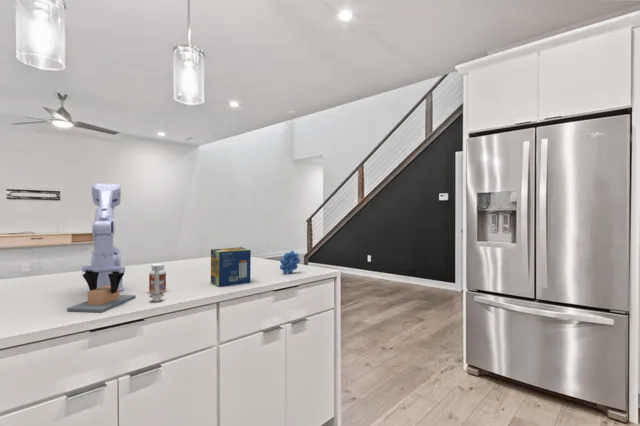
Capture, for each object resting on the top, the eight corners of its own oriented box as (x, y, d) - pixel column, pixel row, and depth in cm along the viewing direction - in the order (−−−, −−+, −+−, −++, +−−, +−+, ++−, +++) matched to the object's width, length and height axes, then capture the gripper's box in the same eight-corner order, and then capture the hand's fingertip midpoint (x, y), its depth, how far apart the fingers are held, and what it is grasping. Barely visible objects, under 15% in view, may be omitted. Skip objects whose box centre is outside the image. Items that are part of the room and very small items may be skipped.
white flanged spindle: (166, 299, 126) (158, 303, 122) (155, 298, 127) (146, 302, 122) (166, 264, 126) (158, 267, 121) (155, 264, 127) (146, 266, 122)
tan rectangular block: (87, 304, 115) (87, 291, 115) (106, 297, 124) (106, 285, 124) (101, 305, 115) (101, 292, 115) (119, 298, 124) (119, 286, 124)
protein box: (210, 282, 155) (210, 249, 154) (241, 278, 164) (241, 247, 164) (218, 287, 146) (218, 251, 146) (251, 282, 156) (251, 249, 155)
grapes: (295, 271, 185) (295, 249, 184) (301, 273, 179) (301, 250, 179) (276, 273, 178) (276, 250, 178) (282, 275, 172) (282, 252, 172)
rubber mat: (105, 297, 129) (105, 294, 129) (135, 297, 128) (135, 295, 128) (67, 311, 111) (66, 308, 111) (101, 312, 110) (101, 309, 110)
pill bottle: (148, 294, 134) (148, 266, 134) (149, 290, 139) (149, 263, 139) (166, 292, 136) (166, 265, 136) (165, 289, 142) (166, 263, 142)
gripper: (75, 255, 116) (75, 294, 116) (115, 256, 115) (115, 296, 115) (90, 252, 123) (90, 289, 123) (128, 253, 122) (128, 290, 122)
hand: (103, 292), depth 119 cm, fingers open, 7 cm apart
